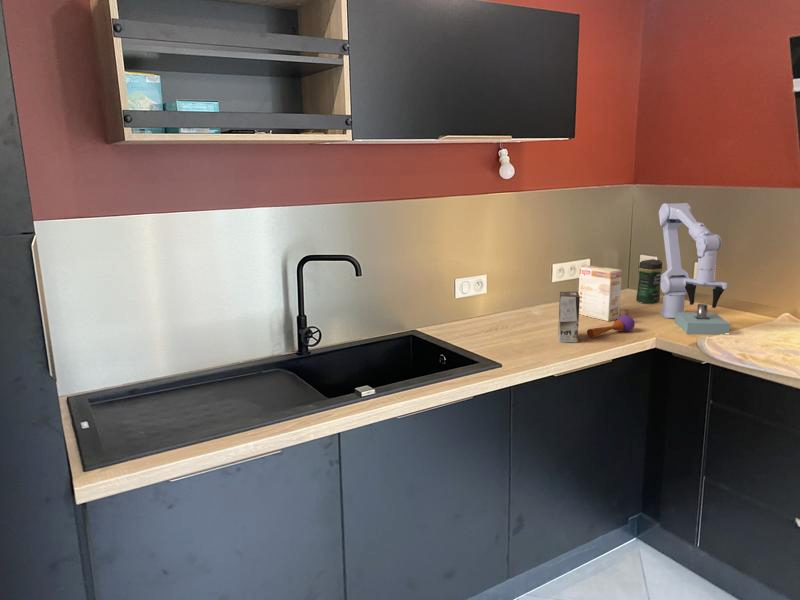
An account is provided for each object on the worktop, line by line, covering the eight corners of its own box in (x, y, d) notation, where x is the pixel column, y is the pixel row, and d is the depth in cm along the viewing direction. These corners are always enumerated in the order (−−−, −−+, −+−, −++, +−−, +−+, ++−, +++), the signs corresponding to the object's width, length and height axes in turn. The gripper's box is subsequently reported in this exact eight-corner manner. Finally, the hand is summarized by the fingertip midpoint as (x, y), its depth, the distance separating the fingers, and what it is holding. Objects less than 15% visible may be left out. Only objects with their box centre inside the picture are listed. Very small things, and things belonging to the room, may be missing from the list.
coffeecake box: (619, 319, 244) (622, 269, 240) (607, 321, 240) (610, 271, 236) (588, 311, 256) (590, 264, 252) (576, 314, 252) (579, 266, 248)
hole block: (674, 322, 237) (675, 312, 236) (714, 323, 235) (715, 313, 234) (686, 333, 222) (687, 323, 221) (729, 334, 220) (730, 323, 219)
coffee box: (578, 342, 213) (580, 296, 210) (558, 342, 215) (560, 296, 211) (576, 335, 222) (578, 291, 219) (557, 335, 223) (559, 290, 220)
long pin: (695, 327, 230) (697, 303, 228) (705, 328, 229) (707, 304, 227) (695, 329, 227) (698, 305, 225) (705, 330, 226) (707, 305, 224)
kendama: (583, 325, 222) (624, 313, 230) (585, 341, 222) (626, 329, 231) (595, 325, 216) (637, 314, 225) (597, 342, 217) (639, 330, 225)
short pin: (618, 321, 240) (619, 309, 239) (626, 321, 239) (627, 309, 238) (619, 323, 237) (620, 311, 236) (628, 324, 236) (629, 311, 235)
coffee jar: (649, 305, 265) (652, 261, 261) (633, 302, 272) (635, 259, 268) (663, 302, 271) (666, 259, 266) (646, 299, 277) (649, 257, 273)
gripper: (681, 268, 226) (678, 304, 229) (724, 272, 216) (720, 310, 219) (688, 265, 231) (685, 301, 234) (730, 269, 221) (727, 307, 224)
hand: (702, 305), depth 227 cm, fingers open, 7 cm apart
